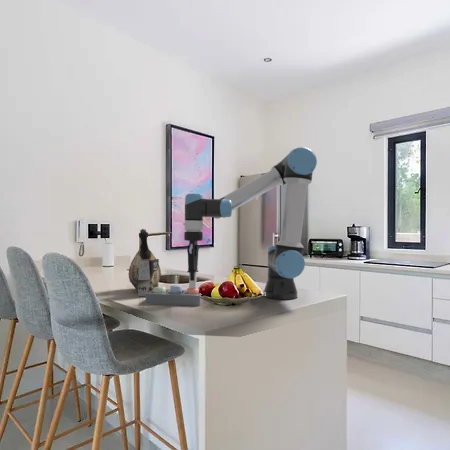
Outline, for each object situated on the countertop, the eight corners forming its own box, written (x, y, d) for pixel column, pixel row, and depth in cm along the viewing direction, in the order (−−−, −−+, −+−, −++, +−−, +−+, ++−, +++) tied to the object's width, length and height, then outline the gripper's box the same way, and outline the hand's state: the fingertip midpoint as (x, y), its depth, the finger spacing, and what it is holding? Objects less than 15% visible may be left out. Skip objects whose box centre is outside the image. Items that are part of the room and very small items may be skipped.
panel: (204, 299, 152) (204, 290, 152) (199, 305, 140) (199, 295, 140) (154, 298, 154) (154, 288, 154) (145, 303, 142) (145, 293, 142)
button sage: (166, 296, 150) (166, 286, 150) (163, 298, 145) (163, 288, 145) (155, 295, 150) (155, 286, 150) (152, 298, 145) (152, 288, 145)
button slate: (183, 294, 149) (183, 285, 149) (180, 297, 144) (180, 287, 144) (171, 294, 150) (172, 285, 150) (169, 296, 145) (169, 286, 145)
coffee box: (151, 296, 156) (151, 260, 157) (137, 296, 158) (138, 260, 158) (158, 293, 165) (159, 258, 166) (145, 292, 167) (146, 258, 167)
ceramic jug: (128, 288, 178) (129, 228, 179) (159, 287, 182) (160, 229, 182) (127, 294, 162) (128, 228, 162) (161, 293, 166) (162, 229, 166)
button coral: (199, 297, 148) (199, 287, 148) (197, 299, 144) (197, 289, 144) (188, 297, 149) (188, 287, 149) (185, 299, 144) (185, 289, 144)
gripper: (187, 230, 153) (186, 285, 153) (181, 231, 140) (180, 290, 140) (205, 231, 153) (204, 285, 152) (199, 231, 140) (198, 291, 139)
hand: (192, 288), depth 146 cm, fingers closed
